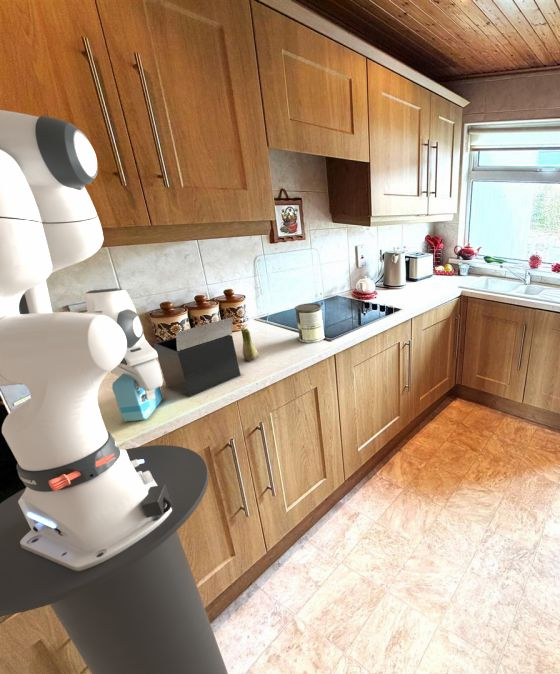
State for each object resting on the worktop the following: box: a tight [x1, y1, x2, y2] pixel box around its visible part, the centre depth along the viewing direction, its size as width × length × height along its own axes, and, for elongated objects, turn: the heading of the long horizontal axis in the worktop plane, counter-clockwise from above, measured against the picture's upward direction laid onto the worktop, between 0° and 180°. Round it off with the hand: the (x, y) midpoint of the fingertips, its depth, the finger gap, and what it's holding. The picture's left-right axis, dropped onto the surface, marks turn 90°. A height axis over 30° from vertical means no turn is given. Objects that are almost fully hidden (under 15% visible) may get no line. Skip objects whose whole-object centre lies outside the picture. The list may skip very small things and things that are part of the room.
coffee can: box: [294, 302, 325, 343], centre depth 149 cm, size 10×10×14 cm
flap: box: [175, 316, 234, 351], centre depth 105 cm, size 6×16×1 cm
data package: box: [111, 374, 163, 423], centre depth 97 cm, size 12×4×12 cm, turn 17°
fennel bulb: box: [240, 327, 259, 362], centre depth 129 cm, size 6×5×12 cm
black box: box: [153, 334, 241, 398], centre depth 113 cm, size 13×16×14 cm
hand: (141, 394), depth 97 cm, fingers open, 8 cm apart
